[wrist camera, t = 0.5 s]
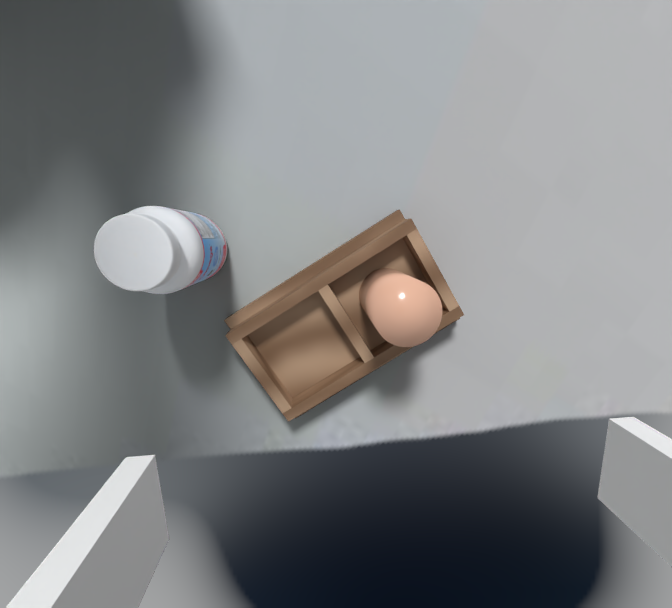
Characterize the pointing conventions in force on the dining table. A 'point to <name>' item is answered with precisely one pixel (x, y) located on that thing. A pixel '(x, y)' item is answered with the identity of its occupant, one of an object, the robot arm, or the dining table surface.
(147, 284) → the pill bottle
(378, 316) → the peach capsule shape
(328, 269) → the rack
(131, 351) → the dining table surface
